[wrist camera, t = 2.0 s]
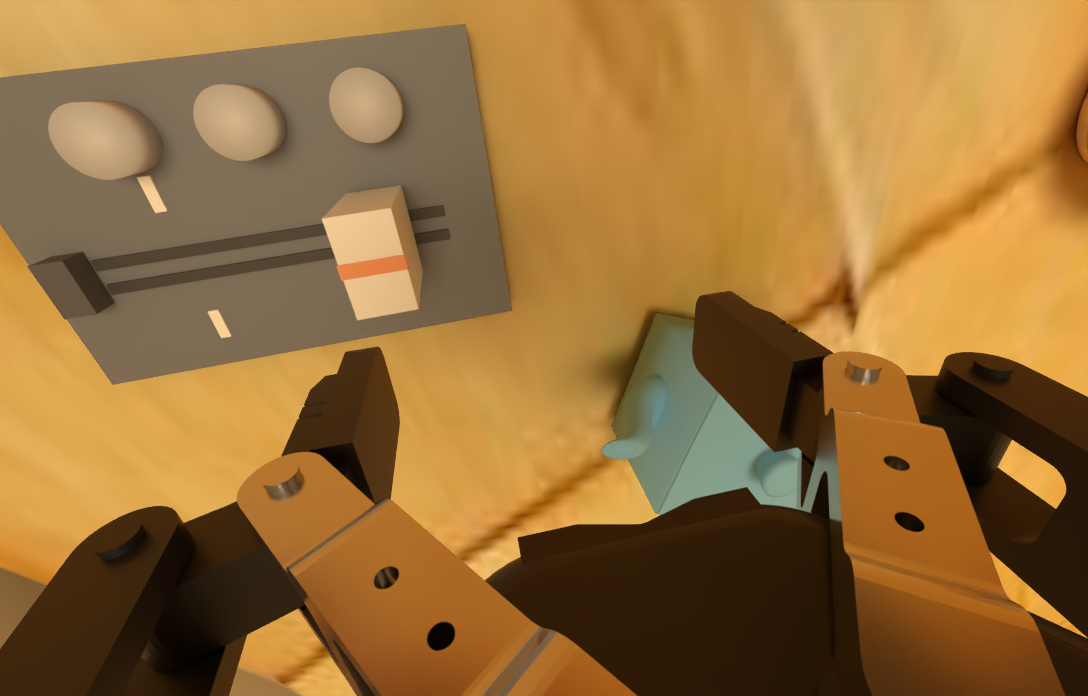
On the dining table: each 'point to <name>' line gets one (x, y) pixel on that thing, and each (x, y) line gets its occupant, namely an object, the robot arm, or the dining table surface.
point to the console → (245, 194)
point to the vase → (1083, 130)
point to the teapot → (691, 430)
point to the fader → (376, 251)
